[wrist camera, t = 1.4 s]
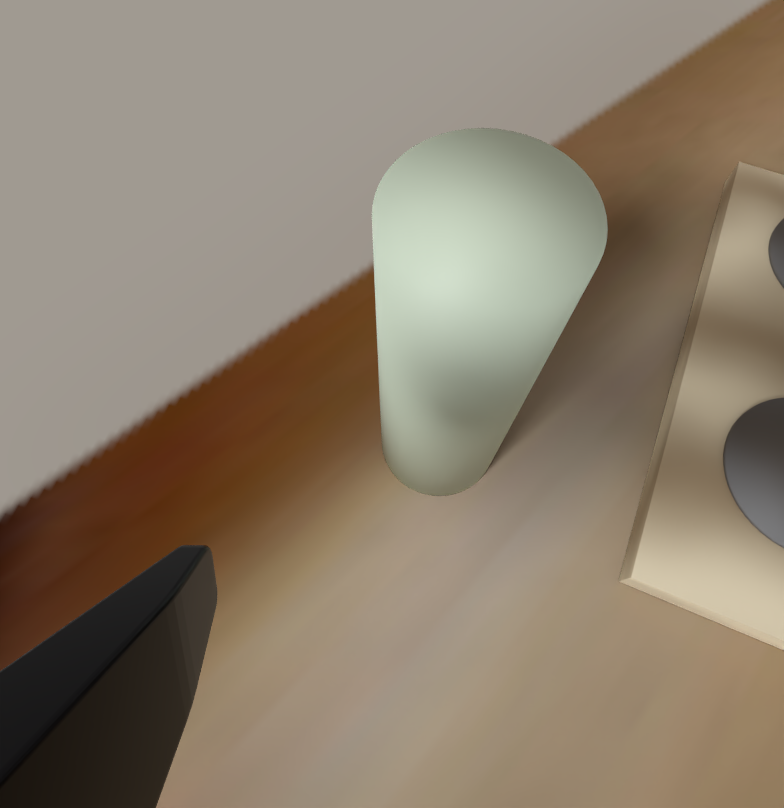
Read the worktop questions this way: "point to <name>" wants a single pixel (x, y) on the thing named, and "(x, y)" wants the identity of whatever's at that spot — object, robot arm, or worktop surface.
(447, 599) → the worktop surface
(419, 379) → the sage pin
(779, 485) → the board
